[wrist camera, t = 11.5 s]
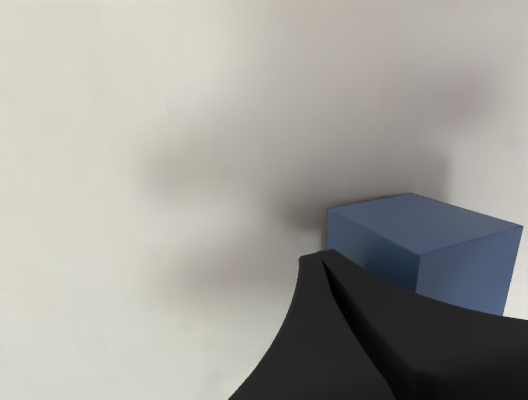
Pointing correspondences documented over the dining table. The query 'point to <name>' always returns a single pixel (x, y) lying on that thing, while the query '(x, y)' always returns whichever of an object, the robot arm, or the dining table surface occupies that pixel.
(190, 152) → the dining table surface
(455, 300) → the blue block
